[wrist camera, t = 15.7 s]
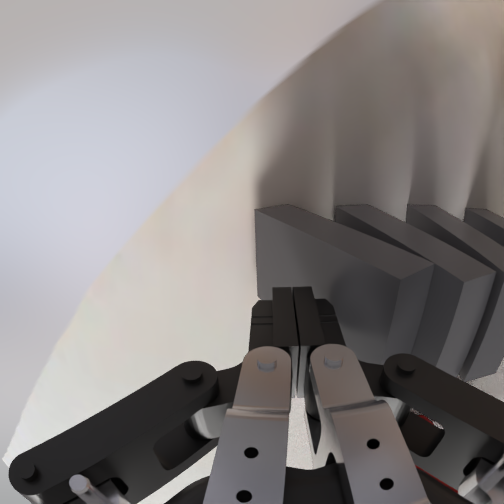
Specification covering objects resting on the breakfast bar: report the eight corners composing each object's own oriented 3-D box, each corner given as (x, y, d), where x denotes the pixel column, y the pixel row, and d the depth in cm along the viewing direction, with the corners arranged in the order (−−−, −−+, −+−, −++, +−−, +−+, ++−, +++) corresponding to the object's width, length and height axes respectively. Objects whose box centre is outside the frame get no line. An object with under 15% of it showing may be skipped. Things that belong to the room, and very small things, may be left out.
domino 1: (287, 204, 16) (434, 263, 9) (287, 287, 18) (403, 374, 11) (254, 209, 15) (400, 279, 8) (257, 296, 17) (370, 397, 10)
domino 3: (435, 205, 16) (536, 270, 7) (423, 280, 18) (495, 373, 9) (407, 204, 16) (505, 273, 8) (396, 282, 18) (463, 382, 9)
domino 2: (367, 204, 16) (496, 271, 8) (359, 284, 18) (455, 379, 10) (335, 206, 16) (464, 282, 8) (330, 290, 18) (422, 396, 9)
